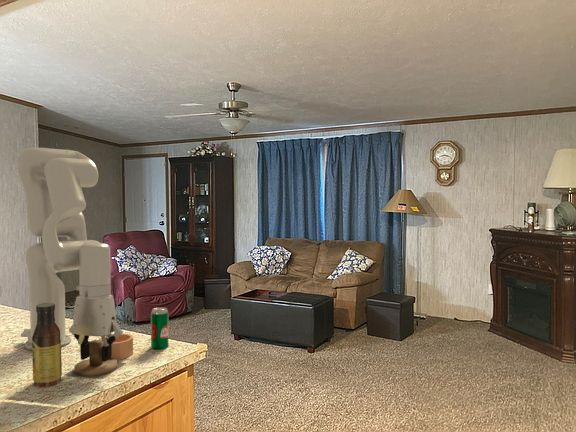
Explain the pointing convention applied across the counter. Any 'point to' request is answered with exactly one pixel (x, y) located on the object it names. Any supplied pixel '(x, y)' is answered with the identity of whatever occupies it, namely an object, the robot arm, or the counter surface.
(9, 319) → the counter surface
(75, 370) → the lid
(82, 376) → the mat
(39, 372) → the sauce bottle
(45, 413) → the counter surface
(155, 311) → the soda can
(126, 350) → the bowl
